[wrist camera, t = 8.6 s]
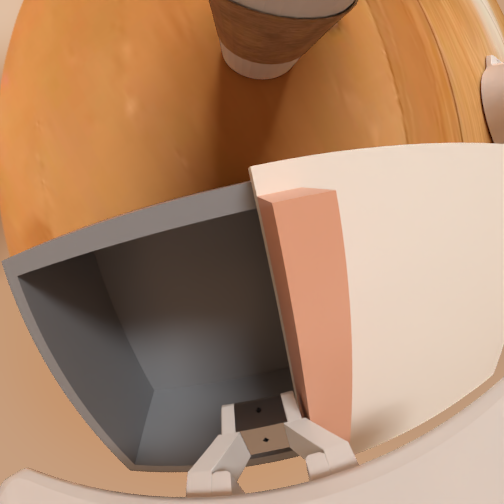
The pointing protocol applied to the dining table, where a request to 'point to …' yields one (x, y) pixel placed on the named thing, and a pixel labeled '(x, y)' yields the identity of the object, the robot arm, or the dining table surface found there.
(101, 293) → the storage box
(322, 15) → the coffee cup
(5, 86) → the dining table surface
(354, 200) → the lid
